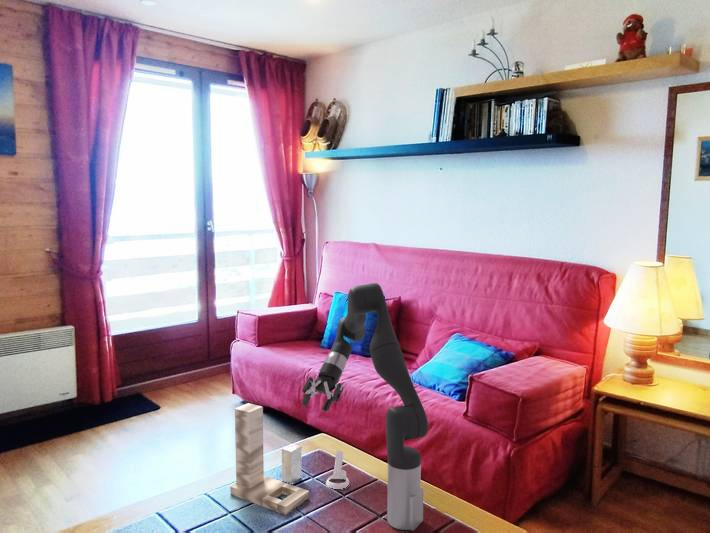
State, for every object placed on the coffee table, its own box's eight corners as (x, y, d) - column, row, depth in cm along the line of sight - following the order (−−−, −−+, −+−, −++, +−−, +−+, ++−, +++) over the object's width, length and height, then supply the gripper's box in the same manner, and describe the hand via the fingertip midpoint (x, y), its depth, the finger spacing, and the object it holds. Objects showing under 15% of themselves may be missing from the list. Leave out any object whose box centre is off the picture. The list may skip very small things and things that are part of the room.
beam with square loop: (309, 498, 168) (308, 414, 166) (285, 515, 159) (284, 425, 157) (255, 480, 180) (253, 400, 178) (230, 494, 171) (228, 411, 168)
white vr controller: (348, 456, 186) (354, 452, 180) (345, 494, 180) (351, 491, 174) (326, 453, 185) (331, 449, 179) (323, 491, 178) (328, 488, 173)
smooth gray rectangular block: (301, 478, 181) (301, 446, 180) (291, 484, 177) (291, 451, 176) (291, 475, 183) (291, 443, 182) (282, 481, 179) (281, 448, 178)
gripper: (312, 358, 198) (292, 398, 190) (345, 365, 191) (326, 407, 182) (321, 369, 203) (302, 409, 195) (354, 376, 196) (335, 417, 187)
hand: (313, 408), depth 189 cm, fingers open, 8 cm apart
